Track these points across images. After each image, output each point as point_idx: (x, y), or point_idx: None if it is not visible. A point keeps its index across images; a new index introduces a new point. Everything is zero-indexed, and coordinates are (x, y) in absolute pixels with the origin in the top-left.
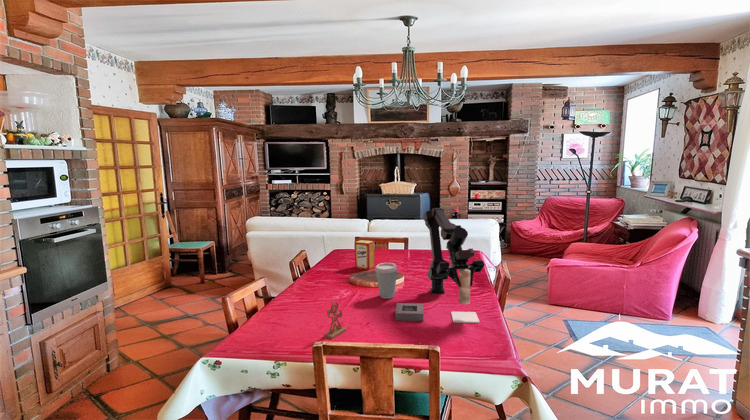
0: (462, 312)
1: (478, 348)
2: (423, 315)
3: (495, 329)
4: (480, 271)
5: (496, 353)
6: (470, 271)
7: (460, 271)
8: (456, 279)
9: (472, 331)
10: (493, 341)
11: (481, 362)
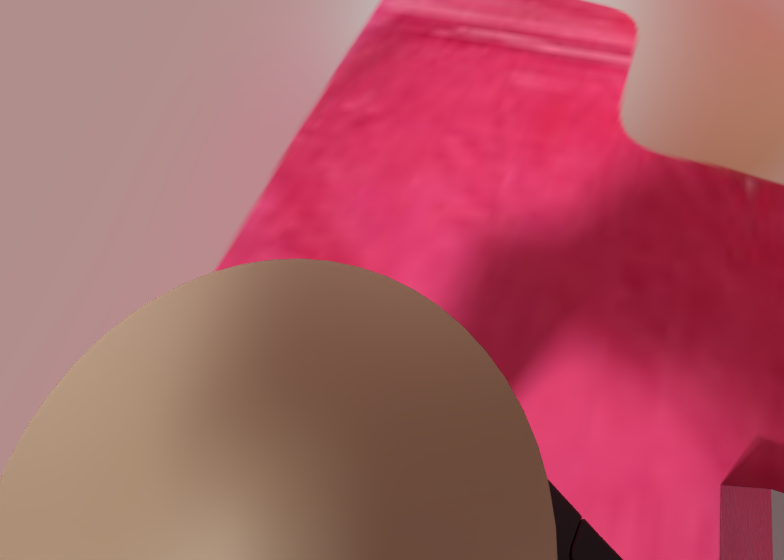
0: None
1: (470, 92)
2: (758, 488)
3: (276, 242)
4: None
5: (413, 50)
6: (76, 385)
7: (528, 427)
8: (556, 504)
9: (420, 246)
10: (368, 131)
11: (503, 12)
